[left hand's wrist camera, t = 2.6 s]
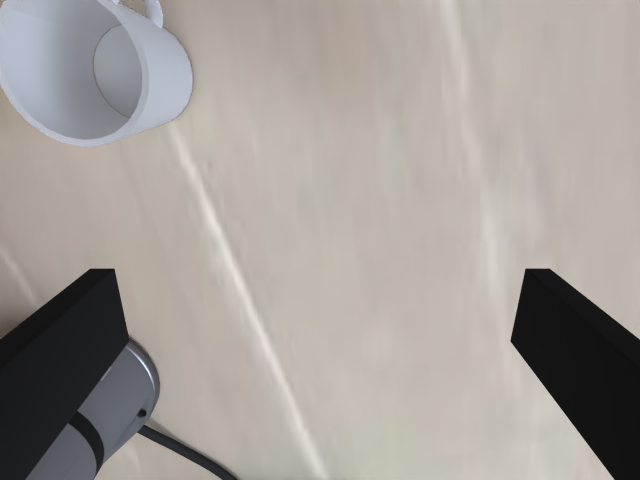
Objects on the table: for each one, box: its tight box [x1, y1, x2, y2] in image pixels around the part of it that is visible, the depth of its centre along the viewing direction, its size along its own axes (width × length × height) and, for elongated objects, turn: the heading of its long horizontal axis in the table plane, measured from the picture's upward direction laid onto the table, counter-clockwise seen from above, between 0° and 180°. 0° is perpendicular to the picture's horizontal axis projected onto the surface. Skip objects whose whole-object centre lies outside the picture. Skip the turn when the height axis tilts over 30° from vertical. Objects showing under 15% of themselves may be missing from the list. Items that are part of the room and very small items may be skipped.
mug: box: [0, 0, 193, 147], centre depth 27 cm, size 11×9×10 cm
